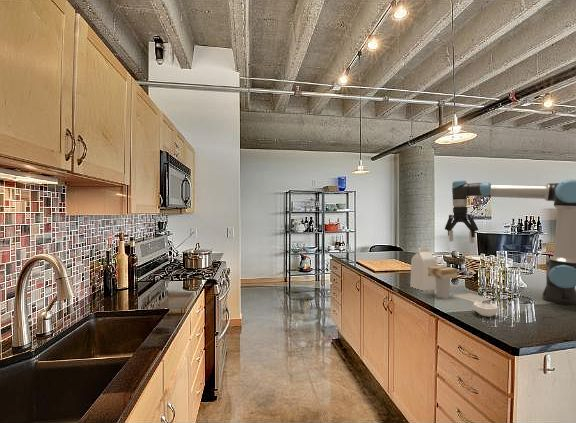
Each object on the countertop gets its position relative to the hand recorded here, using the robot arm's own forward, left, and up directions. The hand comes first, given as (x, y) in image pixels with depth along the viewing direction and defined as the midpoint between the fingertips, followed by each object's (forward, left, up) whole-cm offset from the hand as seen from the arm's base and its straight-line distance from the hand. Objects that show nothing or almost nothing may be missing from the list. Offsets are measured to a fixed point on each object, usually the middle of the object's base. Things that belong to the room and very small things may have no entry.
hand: (461, 242), depth 184 cm
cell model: (-32, +23, -31) cm, 50 cm away
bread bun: (-2, +17, -19) cm, 26 cm away
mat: (-9, +3, -31) cm, 32 cm away
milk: (+19, +10, -31) cm, 38 cm away
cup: (-2, +17, -31) cm, 35 cm away
